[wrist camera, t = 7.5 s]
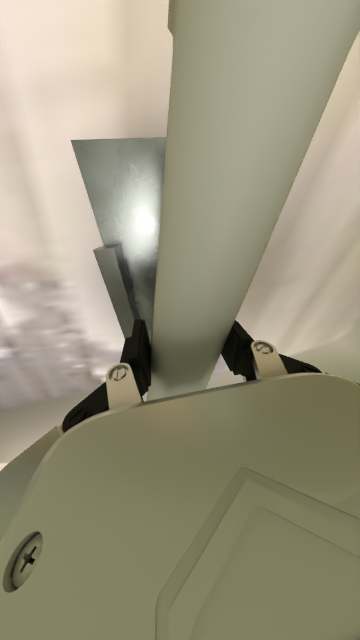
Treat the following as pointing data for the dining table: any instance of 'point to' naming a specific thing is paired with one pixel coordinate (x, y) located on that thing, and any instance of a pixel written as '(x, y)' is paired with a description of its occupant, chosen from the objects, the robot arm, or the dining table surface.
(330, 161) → the dining table surface
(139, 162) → the galvanized metal plate
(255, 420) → the robot arm
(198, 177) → the tube
